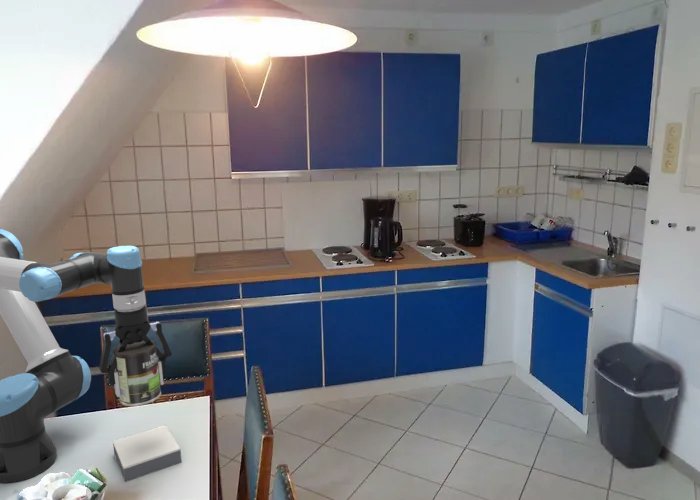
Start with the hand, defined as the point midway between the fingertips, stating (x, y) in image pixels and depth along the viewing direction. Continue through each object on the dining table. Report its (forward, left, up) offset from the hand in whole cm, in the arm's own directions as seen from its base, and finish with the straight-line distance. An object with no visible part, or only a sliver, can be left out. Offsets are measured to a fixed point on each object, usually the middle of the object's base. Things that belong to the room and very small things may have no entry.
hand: (139, 388), depth 136 cm
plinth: (+1, 0, -20) cm, 20 cm away
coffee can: (0, 0, -3) cm, 3 cm away
